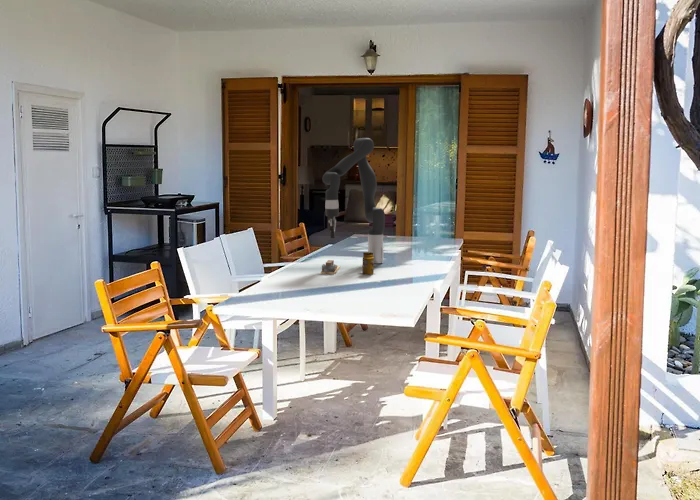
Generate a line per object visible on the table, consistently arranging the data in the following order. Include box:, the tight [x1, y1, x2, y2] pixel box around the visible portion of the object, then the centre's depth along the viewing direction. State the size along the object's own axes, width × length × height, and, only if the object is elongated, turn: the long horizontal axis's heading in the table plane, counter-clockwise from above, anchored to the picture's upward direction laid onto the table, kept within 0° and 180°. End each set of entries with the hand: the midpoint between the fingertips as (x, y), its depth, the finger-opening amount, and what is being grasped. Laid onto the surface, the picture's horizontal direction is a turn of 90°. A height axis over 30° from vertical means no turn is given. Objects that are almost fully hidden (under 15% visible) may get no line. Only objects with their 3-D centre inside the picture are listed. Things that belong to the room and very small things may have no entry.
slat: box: [325, 259, 335, 265], centre depth 386 cm, size 10×3×5 cm, turn 173°
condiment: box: [356, 251, 375, 276], centre depth 379 cm, size 7×8×12 cm
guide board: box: [320, 263, 341, 275], centre depth 391 cm, size 8×22×4 cm, turn 174°
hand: (332, 237), depth 398 cm, fingers closed
